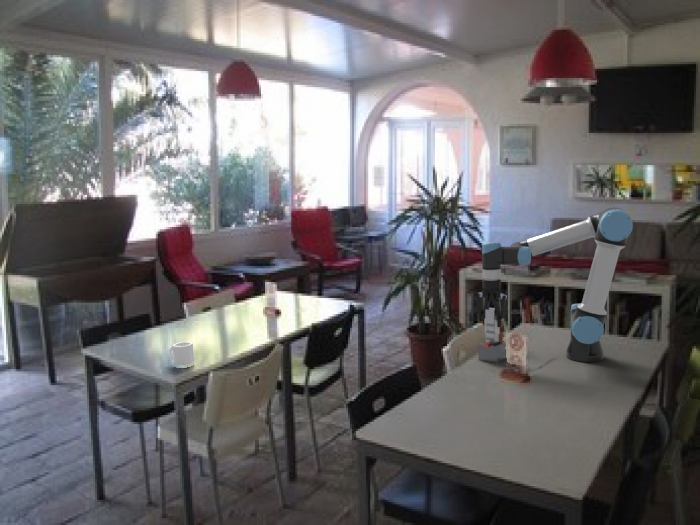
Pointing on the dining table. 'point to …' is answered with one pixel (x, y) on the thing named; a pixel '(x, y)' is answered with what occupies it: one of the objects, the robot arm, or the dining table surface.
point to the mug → (501, 332)
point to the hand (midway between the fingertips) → (492, 333)
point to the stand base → (492, 352)
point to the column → (491, 327)
